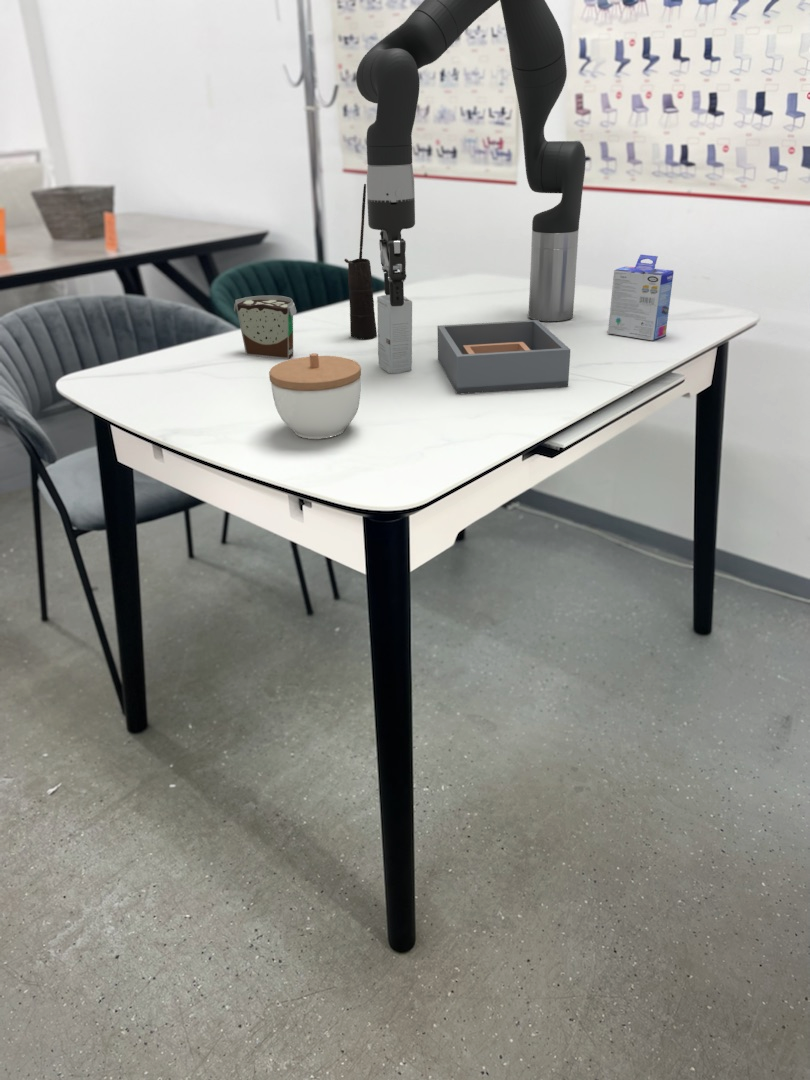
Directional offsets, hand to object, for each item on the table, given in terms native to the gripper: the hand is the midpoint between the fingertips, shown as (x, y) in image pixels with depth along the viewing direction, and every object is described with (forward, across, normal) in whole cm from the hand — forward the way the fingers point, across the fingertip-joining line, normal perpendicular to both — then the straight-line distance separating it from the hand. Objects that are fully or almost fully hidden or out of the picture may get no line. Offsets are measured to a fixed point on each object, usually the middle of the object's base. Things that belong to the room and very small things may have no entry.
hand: (394, 300), depth 138 cm
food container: (+12, -16, -21) cm, 29 cm away
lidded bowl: (+12, +28, -14) cm, 33 cm away
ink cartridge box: (+12, -12, +48) cm, 51 cm away
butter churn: (+12, -23, -5) cm, 27 cm away
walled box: (+12, +6, +17) cm, 21 cm away
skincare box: (+12, 0, 0) cm, 12 cm away
